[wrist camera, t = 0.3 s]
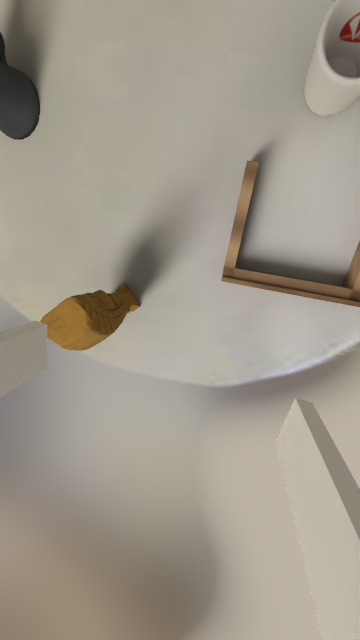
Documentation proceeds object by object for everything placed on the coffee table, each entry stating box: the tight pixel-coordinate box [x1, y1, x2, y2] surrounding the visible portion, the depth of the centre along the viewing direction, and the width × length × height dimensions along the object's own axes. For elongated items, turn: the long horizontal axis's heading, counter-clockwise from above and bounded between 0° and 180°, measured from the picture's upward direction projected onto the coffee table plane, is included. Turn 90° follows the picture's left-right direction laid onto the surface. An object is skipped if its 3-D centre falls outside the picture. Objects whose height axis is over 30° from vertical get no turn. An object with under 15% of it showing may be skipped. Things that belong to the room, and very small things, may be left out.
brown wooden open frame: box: [221, 161, 360, 307], centre depth 32 cm, size 16×19×4 cm
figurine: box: [41, 284, 140, 350], centre depth 35 cm, size 7×7×15 cm
